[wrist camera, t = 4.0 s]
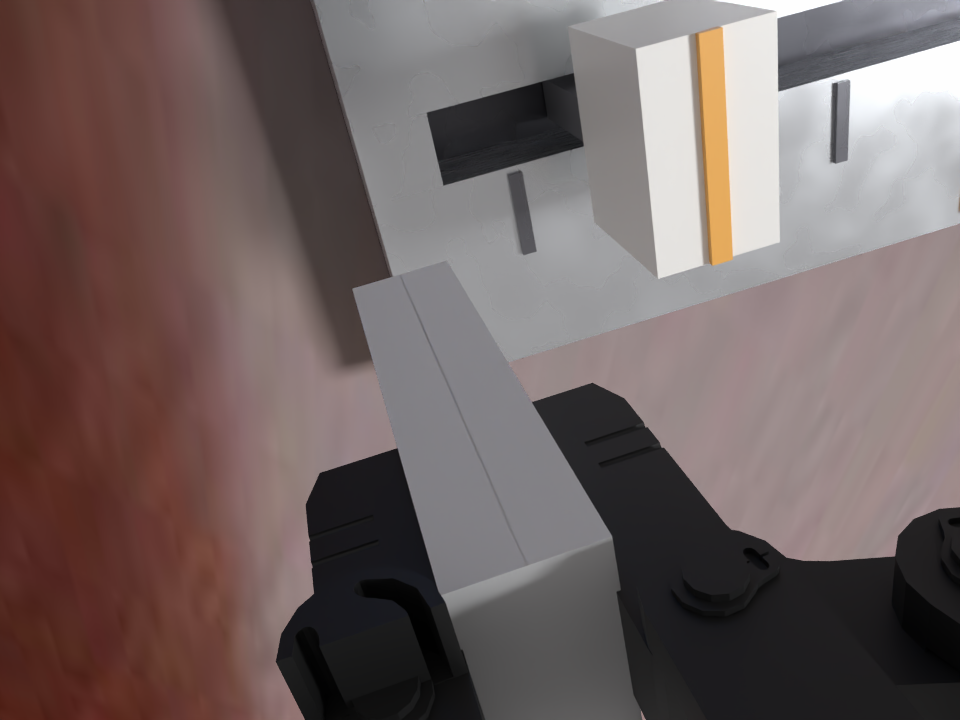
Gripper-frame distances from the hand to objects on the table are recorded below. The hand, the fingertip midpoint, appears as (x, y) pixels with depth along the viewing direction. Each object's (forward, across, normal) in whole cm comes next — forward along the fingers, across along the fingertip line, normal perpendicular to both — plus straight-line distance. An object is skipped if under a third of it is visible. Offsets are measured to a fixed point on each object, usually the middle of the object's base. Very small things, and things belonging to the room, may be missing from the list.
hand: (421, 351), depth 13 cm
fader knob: (+12, +7, 0) cm, 14 cm away
